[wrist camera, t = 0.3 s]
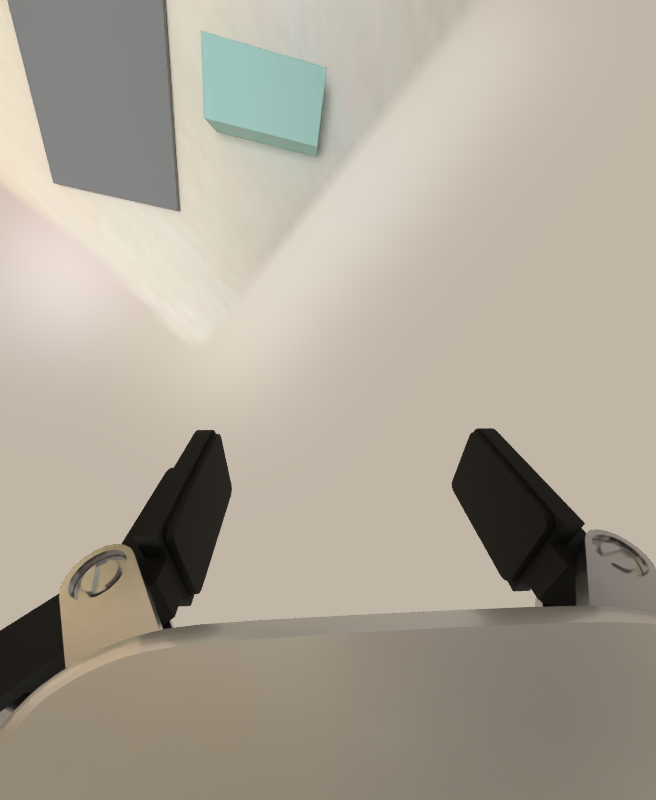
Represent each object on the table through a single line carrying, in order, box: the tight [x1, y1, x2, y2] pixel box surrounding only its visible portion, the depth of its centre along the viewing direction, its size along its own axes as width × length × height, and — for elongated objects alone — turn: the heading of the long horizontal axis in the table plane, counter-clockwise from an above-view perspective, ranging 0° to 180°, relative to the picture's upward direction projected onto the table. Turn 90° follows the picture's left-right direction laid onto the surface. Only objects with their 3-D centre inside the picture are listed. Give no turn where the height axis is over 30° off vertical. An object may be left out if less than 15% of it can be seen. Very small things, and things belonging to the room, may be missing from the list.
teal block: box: [201, 31, 326, 156], centre depth 25 cm, size 5×10×4 cm, turn 80°
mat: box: [8, 0, 180, 211], centre depth 24 cm, size 20×12×1 cm, turn 169°
